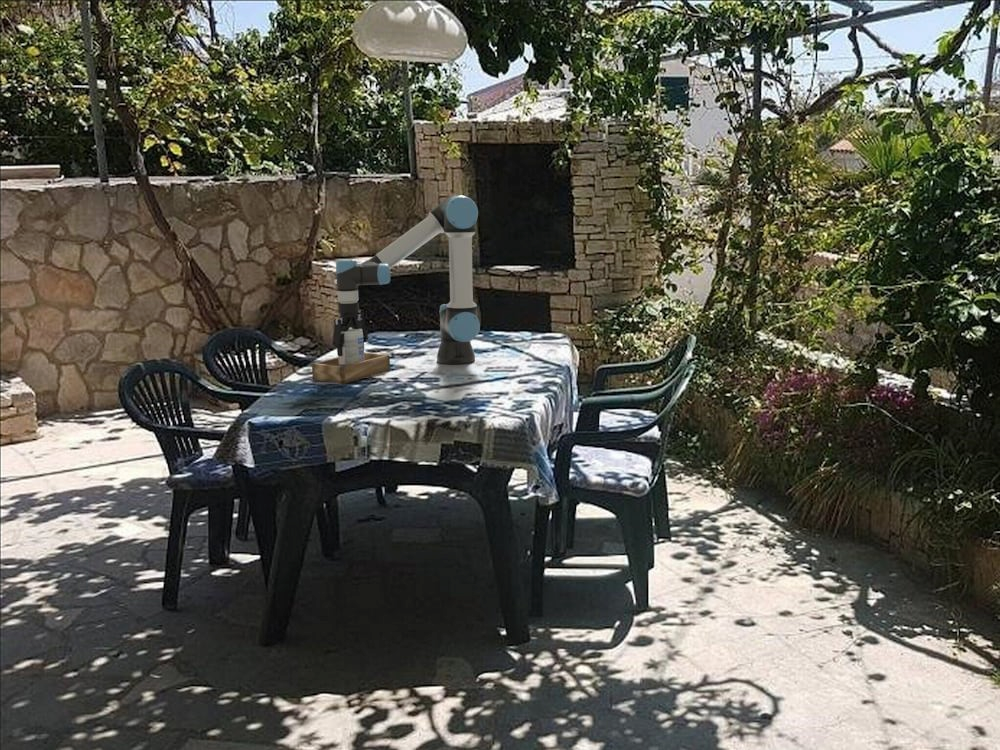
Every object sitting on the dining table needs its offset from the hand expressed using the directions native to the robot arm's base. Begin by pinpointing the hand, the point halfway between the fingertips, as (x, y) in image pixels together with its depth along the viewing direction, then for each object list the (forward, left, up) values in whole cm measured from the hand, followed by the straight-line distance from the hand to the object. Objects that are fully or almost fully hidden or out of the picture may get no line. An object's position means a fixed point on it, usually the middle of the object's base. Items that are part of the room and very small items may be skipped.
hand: (351, 361), depth 328 cm
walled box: (0, 0, -5) cm, 5 cm away
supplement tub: (0, 0, -3) cm, 3 cm away
